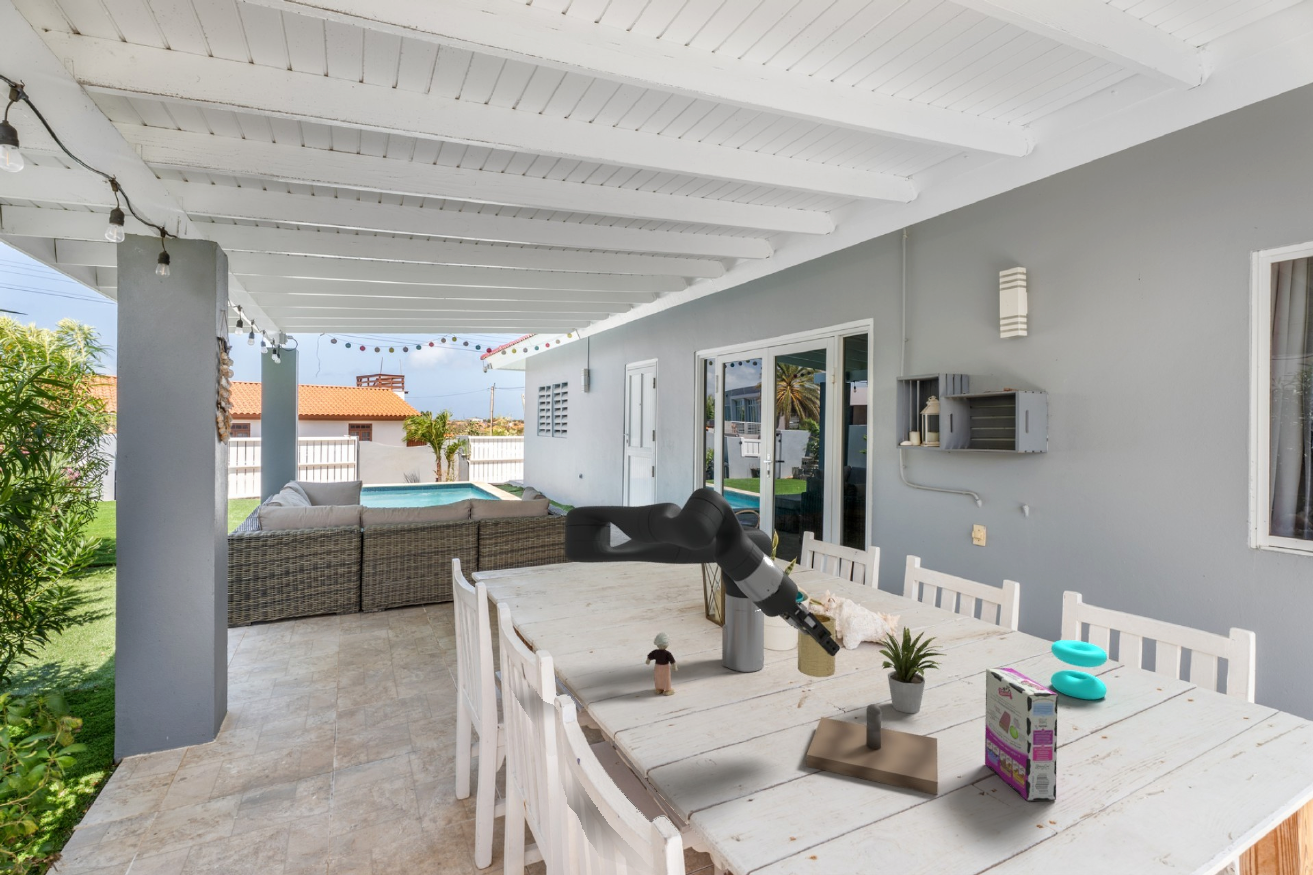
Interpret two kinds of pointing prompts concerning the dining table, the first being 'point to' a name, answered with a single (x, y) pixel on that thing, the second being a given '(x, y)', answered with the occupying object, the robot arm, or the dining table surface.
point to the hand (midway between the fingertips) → (825, 644)
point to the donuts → (1074, 680)
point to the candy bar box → (1021, 733)
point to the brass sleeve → (816, 651)
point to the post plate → (875, 753)
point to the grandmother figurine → (662, 665)
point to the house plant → (907, 671)
